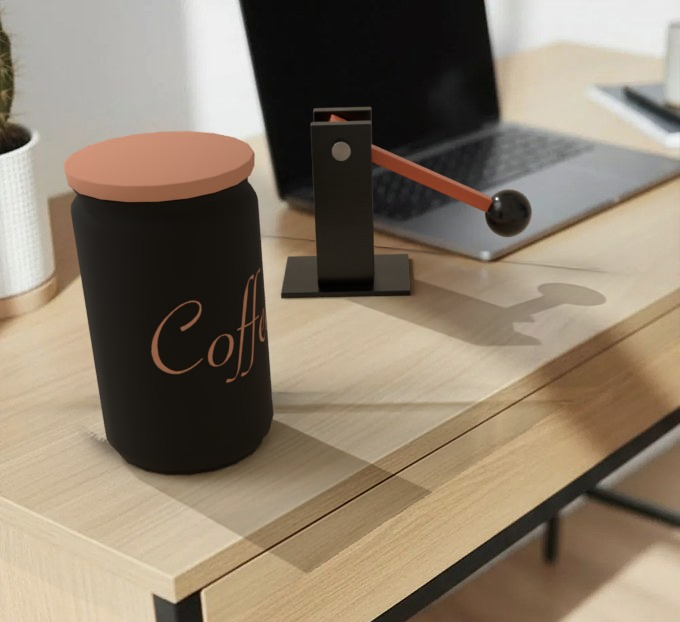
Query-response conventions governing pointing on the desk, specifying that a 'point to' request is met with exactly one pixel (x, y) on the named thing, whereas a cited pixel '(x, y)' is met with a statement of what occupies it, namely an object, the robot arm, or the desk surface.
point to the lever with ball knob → (463, 193)
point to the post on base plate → (344, 217)
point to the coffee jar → (174, 297)
